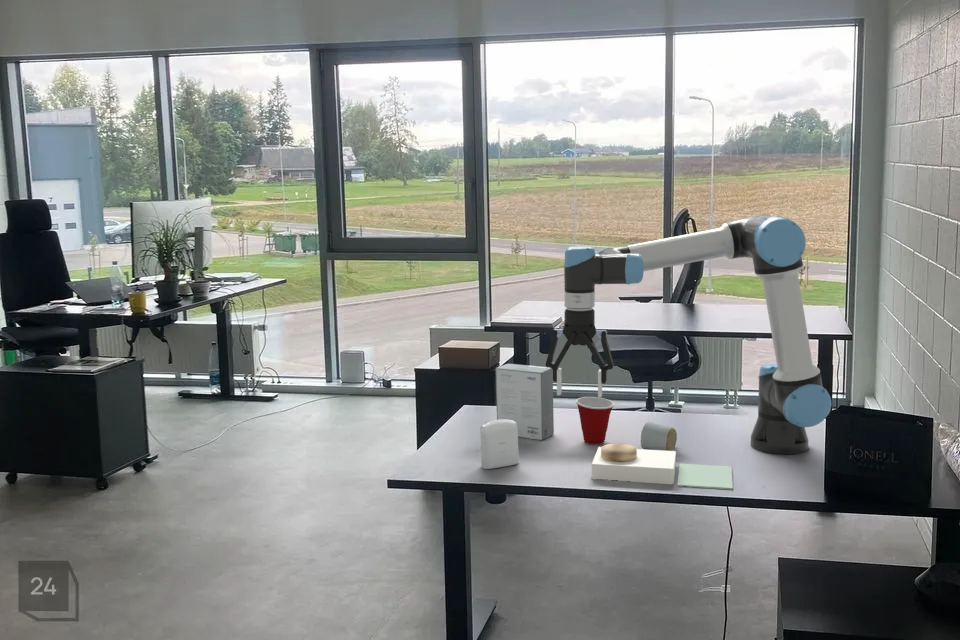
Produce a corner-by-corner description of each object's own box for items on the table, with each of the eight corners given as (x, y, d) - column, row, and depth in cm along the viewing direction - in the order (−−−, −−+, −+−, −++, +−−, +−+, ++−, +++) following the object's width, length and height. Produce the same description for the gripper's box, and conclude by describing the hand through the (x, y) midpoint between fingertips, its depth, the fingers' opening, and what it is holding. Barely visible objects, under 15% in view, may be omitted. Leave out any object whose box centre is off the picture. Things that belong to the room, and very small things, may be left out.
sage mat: (731, 468, 235) (731, 466, 235) (732, 489, 220) (732, 488, 219) (679, 464, 238) (679, 463, 238) (677, 486, 223) (677, 484, 223)
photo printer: (484, 470, 237) (483, 424, 235) (478, 466, 241) (477, 420, 239) (521, 465, 241) (520, 419, 239) (514, 460, 245) (513, 415, 242)
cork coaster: (637, 451, 237) (637, 444, 236) (635, 463, 228) (635, 455, 228) (602, 449, 239) (602, 442, 238) (599, 461, 230) (599, 453, 230)
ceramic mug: (668, 456, 245) (669, 429, 244) (639, 452, 249) (640, 425, 248) (681, 446, 254) (682, 419, 253) (653, 442, 258) (654, 416, 257)
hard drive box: (554, 434, 267) (554, 367, 264) (542, 441, 261) (541, 373, 257) (509, 427, 275) (508, 362, 272) (495, 433, 269) (494, 367, 266)
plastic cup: (610, 449, 252) (610, 406, 250) (572, 446, 256) (571, 404, 254) (617, 437, 262) (617, 397, 260) (580, 435, 266) (580, 394, 264)
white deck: (675, 466, 237) (675, 451, 237) (673, 484, 224) (673, 468, 223) (598, 461, 242) (598, 446, 242) (591, 479, 229) (591, 463, 228)
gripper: (532, 309, 229) (533, 396, 232) (623, 311, 223) (622, 400, 227) (538, 305, 236) (539, 389, 239) (625, 306, 230) (625, 393, 234)
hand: (579, 394), depth 233 cm, fingers open, 10 cm apart
